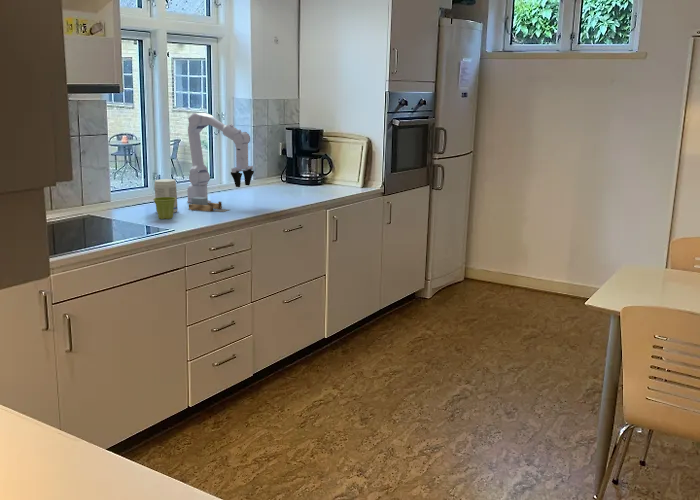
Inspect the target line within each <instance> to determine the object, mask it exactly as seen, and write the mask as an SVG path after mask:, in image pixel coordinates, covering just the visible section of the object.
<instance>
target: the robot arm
mask: <svg viewBox="0 0 700 500" xmlns="http://www.w3.org/2000/svg"><path fill="white" fill-rule="evenodd" d="M187 119H188V120H187V121H188V126H187V135H188V143H189V150H190V156H191V162H192V163H191V165H192V166H191V167H190V169H189V176H188V180H189V181H188V182H190V184H189V185H187V190H186V191H187V201H186V203H188V204H192V201H191V198H194V197H205V198H208V196H209V195H208V184H209V182H210V179H211V176H210V173H209V170H208V167H207V166H206V165H205V164H204V157H203V148H202V142H201V132H202V131H203V129H205V128H206V127H208V126H211V127H214V129H217V130H219V131H221V132H222V134H223V136H224V137H227V138H228V139H229V140H231V141H233V144H234V147H235V163H236V164H235V166H236V167H235V166H234V167H232V168H231V171H230V175H231V177H232V179H233V182H234V185H235V187H236V188H240V187H241V185H242V184H241V181H242V175H243V177H244V186H251V180H252V177H253V176H254V173H255V170H254V165H249V143H250V142H251V135H250V134H249V133H248V132H246V131H242V129H238V128H236V127H235V126H234V124H224V123H223V122H222V121H220V120H219V119H217V118H216V117H214V116H213V115H212V114H209V113H208V112H199V113H197V112H193V113H192V114H190V116H189V117H188V118H187ZM208 203H212V200H209V198H208Z"/></svg>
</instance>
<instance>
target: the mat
mask: <svg viewBox="0 0 700 500" xmlns="http://www.w3.org/2000/svg"><path fill="white" fill-rule="evenodd" d="M229 211H230V209H226V208H222V209H215V210H214V209H213V212H219V213H225V212H229Z"/></svg>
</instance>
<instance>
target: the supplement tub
mask: <svg viewBox="0 0 700 500" xmlns="http://www.w3.org/2000/svg"><path fill="white" fill-rule="evenodd" d="M154 195H155V196H154V198H159V197H174V198H176V199H175V202H174V209H173V214H174V213H176V212H178V197H177V196H178V194H177V182H176V179H172V178H163V179H156V180H154ZM155 209H156V212H157V208H156V207H155Z"/></svg>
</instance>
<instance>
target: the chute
mask: <svg viewBox="0 0 700 500" xmlns="http://www.w3.org/2000/svg"><path fill="white" fill-rule="evenodd" d="M222 207H223V206H222V201H218V203H216V202H208V205H197V204H192V203H188V210H190V211H202V212H214V209H215V210H217V209H223V208H222Z"/></svg>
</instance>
